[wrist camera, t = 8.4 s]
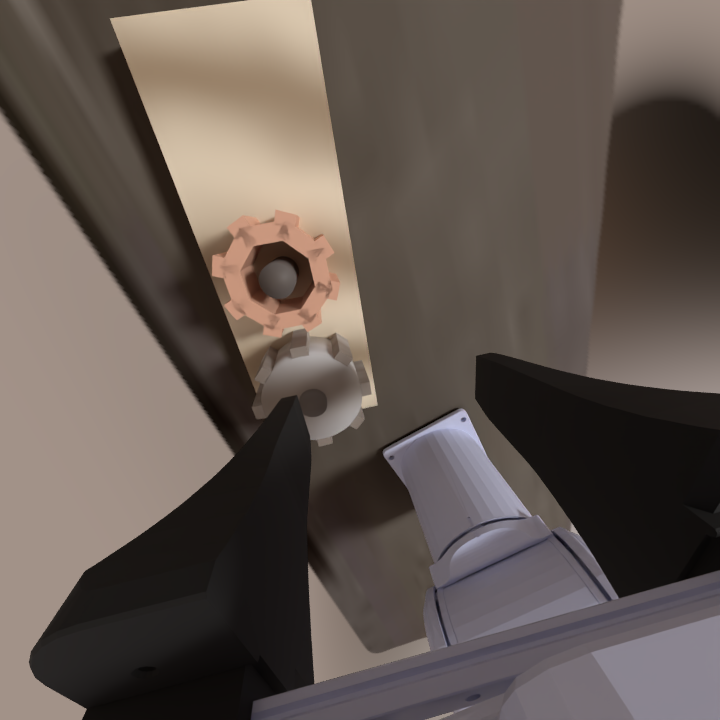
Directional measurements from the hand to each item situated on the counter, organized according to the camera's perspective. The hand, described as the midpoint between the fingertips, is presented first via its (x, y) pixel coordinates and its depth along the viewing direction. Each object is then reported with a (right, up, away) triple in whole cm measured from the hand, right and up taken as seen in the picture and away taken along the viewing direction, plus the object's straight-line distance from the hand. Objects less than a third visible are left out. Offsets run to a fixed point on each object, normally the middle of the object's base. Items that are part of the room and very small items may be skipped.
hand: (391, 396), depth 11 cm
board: (-6, +7, +6) cm, 11 cm away
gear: (-6, +7, +5) cm, 10 cm away
